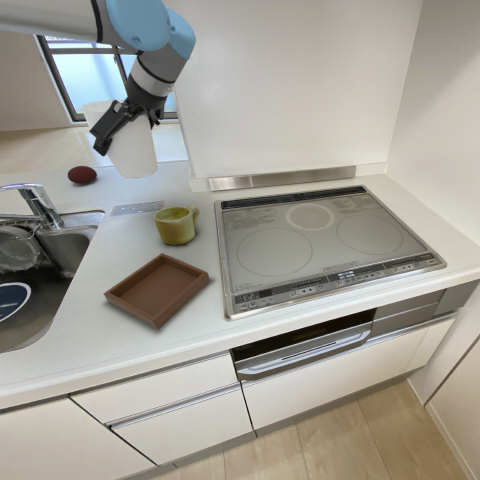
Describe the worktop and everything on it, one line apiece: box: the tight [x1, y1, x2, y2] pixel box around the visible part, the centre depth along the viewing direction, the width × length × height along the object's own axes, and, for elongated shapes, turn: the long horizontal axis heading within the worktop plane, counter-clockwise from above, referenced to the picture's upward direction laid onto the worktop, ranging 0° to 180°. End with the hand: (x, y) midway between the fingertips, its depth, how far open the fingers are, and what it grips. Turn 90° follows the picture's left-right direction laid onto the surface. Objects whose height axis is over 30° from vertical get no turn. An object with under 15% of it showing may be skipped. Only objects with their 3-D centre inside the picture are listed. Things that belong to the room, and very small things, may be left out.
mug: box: [153, 204, 201, 246], centre depth 73 cm, size 12×10×10 cm
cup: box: [80, 99, 159, 180], centre depth 68 cm, size 13×13×17 cm
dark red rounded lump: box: [67, 165, 98, 185], centre depth 94 cm, size 7×8×6 cm
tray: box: [103, 252, 211, 330], centre depth 58 cm, size 15×15×3 cm
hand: (121, 143), depth 69 cm, fingers closed on cup, 13 cm apart
